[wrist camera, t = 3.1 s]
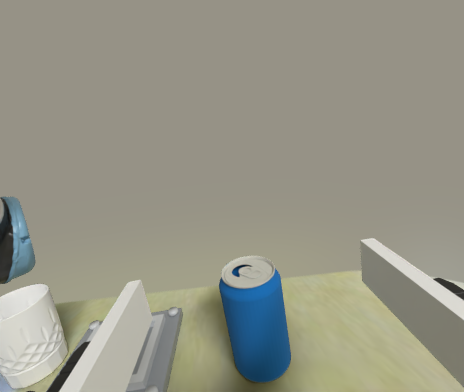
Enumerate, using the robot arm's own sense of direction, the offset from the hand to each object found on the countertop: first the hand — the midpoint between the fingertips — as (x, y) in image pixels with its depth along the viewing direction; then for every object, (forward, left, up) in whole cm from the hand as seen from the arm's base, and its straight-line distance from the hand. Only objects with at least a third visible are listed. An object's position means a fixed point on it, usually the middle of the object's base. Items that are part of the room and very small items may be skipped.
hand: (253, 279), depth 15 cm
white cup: (-30, +15, -18) cm, 38 cm away
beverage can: (0, +10, -18) cm, 20 cm away
